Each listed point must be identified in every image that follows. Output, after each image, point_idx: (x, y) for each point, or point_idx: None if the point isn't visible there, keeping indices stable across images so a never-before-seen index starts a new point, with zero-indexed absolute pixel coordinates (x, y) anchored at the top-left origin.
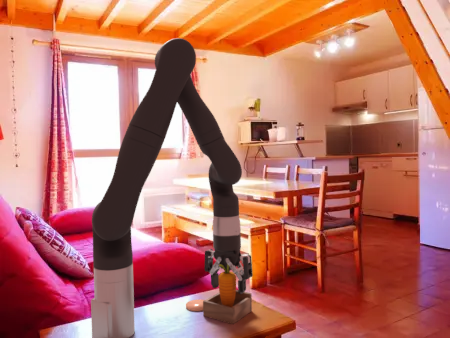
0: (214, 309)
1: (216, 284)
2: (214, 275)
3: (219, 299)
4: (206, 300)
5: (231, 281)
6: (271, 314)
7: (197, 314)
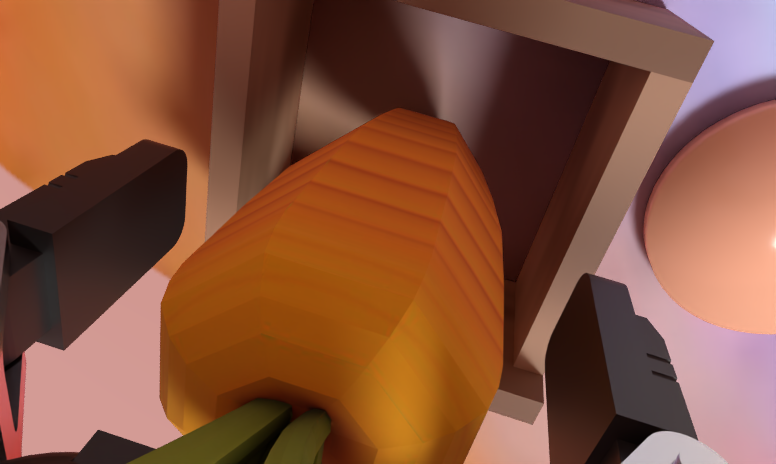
0: None
1: (567, 336)
2: (607, 425)
3: (541, 268)
4: (665, 80)
5: (206, 247)
6: None
7: (749, 25)
